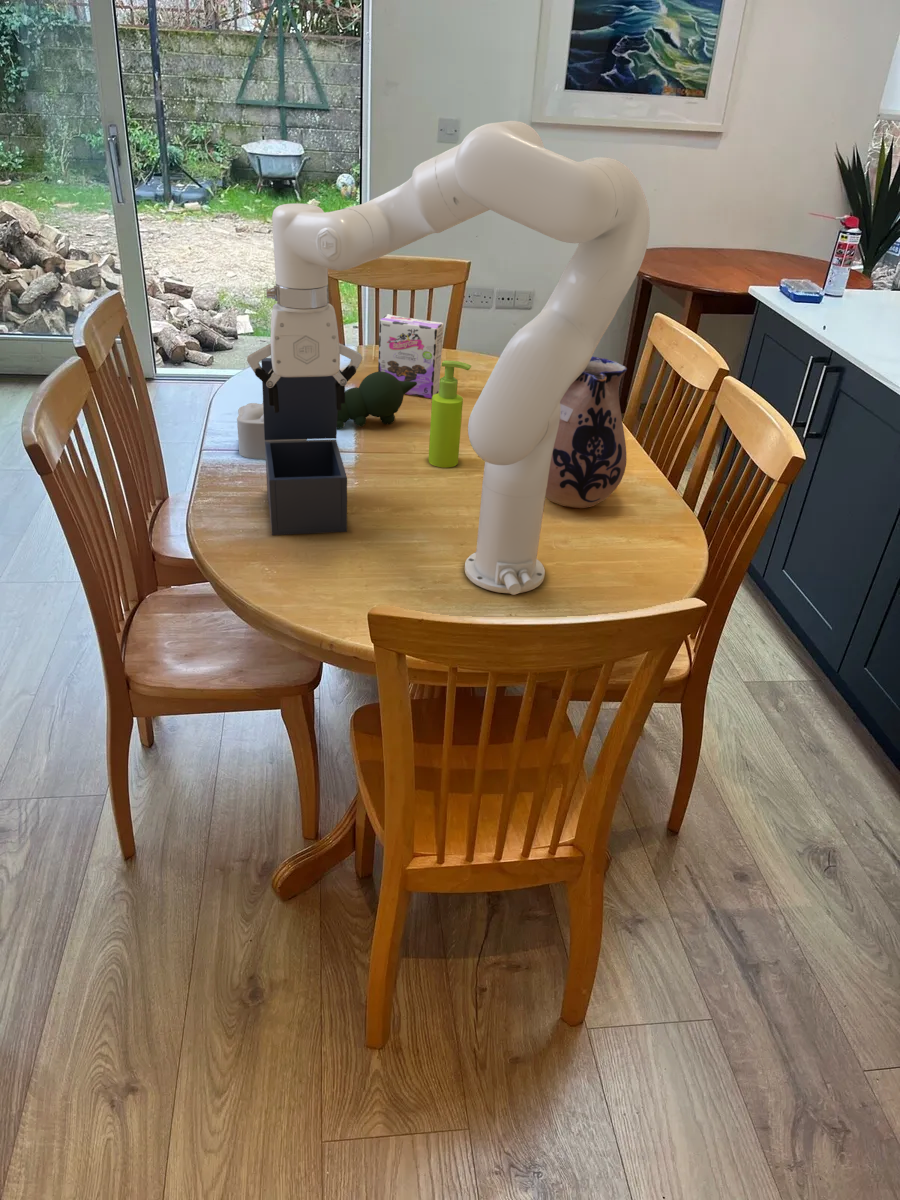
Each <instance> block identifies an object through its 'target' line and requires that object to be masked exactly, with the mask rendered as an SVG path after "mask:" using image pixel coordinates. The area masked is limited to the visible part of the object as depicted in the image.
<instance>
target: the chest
mask: <svg viewBox="0 0 900 1200" xmlns="http://www.w3.org/2000/svg"><path fill="white" fill-rule="evenodd" d="M265 457H266V459H265V473H266V475H265V477H266V494H267V502H268V503H267V505H268V511H269V513H268V514H269V521H270V529H271V536H282V535H283V536H285V535H304V534H306V535H307V534H325V533H328V534H329V533H347V532H348V476H347V472H346V469H345V466H344V463H343V458H342V456H341V451H340V449H339V444H338V442H337V439H307V440H298V441H265Z"/></svg>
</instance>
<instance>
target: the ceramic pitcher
mask: <svg viewBox="0 0 900 1200" xmlns="http://www.w3.org/2000/svg"><path fill="white" fill-rule="evenodd" d="M627 371H628V368H627V366H625V365H623V364H621V363H619V362H618V361H616V360H611V359H608V358H605V357H598V356H593V355H592V357H591V360H590V362H589V364H588V365H587V367H586V369H585V370H584V371H583V372H582V374H581V375H580V376H579V377H578V378H577V379H576V380H575V381H574V382H573V383H572V384H571V385H570V387H569V388H568V390H567V391H566V393H565V394H564V396H563V398H562V399H561V401H560V407H561V413H560V421H559V427H558V431H557V435H556V440H555V444H554V448H553V453H552V458H551V463H550V469H549V476H548V483H547V488H546V495H545V499H548V500H549V501H550V502H551V503H554V504H557V505H559V506H562V507H567V508H575V509H586V508H591V507H594V506H596V505H598V504H600V503H602V502H603V501H605V500H607V499H608V498H609V497H611V495H612V494H613V493H614V492H615V491H616V489H617V488H618V486H619V485H620V484H621V482H622V480H623V477H624V475H625V473H626V472H625V471H626V467H627V461H628V459H627V446H626V436H625V431H624V429H625V428H624V423H623V418H622V417H623V416H622V411H621V405H620V396H619V395H620V394H619V393H620V392H619V389H620V388H619V387H620V383H621V379H622V377H623V376H624V374H625V373H626V372H627Z"/></svg>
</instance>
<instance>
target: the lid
mask: <svg viewBox="0 0 900 1200" xmlns="http://www.w3.org/2000/svg"><path fill="white" fill-rule="evenodd" d="M260 362H261V367H262V368H263V369H264V370H265V371H266V372H267V373H269V372H270V370H271V369H272V360H271V357H266V358H265V359H263V360H261V361H260ZM335 380H336V379H335V378H334V377H333V376H322V377H280V379H279V380H278V381H277V387H278V400H279V412H278V413H275V412H274V406H269V395H268V387H267V386H266V384H265V383H264V382H262V381H261V384H262V385H261V387H262V403H263V414H264V438H265V440H289V439H307V440H333V439H337V435H338V434H337V432H338V431H337V430H338V428H337V412H338V410H337V409H336V406H335V392H334V381H335Z"/></svg>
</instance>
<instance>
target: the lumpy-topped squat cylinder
mask: <svg viewBox="0 0 900 1200" xmlns="http://www.w3.org/2000/svg"><path fill="white" fill-rule="evenodd" d="M237 409H238V410H237V412H238V413H237V414H238V416H237V417H236V423H237V424H236V426H237V439H238V441H237V442H238V453H239V456H241V457H243V458H247V459H254V460H255V459H257V460H258V459H259V460H260V459H261V460H266V457H265V441H298V440H308V439H289V440H265V438H264V414H263V402H262V403H257V402H249V403H246V404H245V405H241V406H240V407H239V408H237Z"/></svg>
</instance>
